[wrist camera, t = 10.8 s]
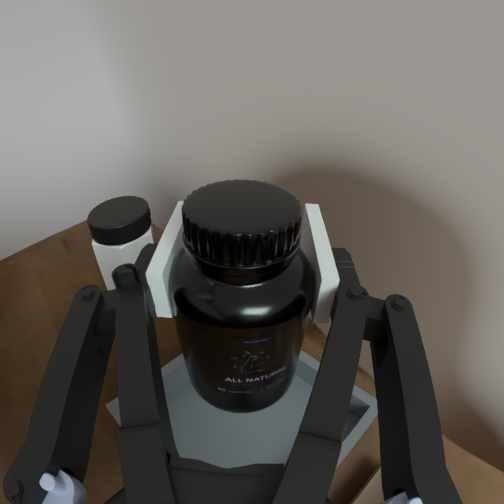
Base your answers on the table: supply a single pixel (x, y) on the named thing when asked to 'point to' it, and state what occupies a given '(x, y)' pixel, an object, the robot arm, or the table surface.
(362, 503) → the socket collar
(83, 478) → the robot arm
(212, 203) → the supplement bottle
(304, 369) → the bin
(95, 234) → the jar
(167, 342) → the table surface
